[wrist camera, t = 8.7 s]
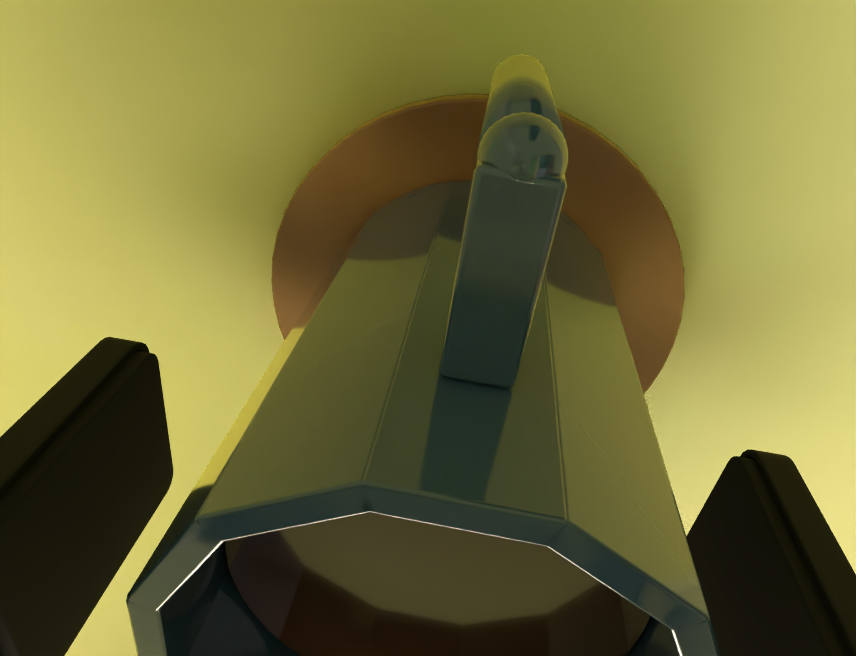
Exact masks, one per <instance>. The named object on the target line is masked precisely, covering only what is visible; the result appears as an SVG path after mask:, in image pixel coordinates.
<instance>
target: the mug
mask: <svg viewBox="0 0 856 656" xmlns="http://www.w3.org/2000/svg"><path fill="white" fill-rule="evenodd" d="M568 156H569V154H568V146H567V142H566V139H565V135H564V132H563V128H562V125H561V121H560V118H559V115H558V111H557V108H556V104H555V101H554V97H553V94H552V90H551V87H550V83H549V80H548V76H547V73H546V70H545V68H544V66H543V65H542V64H541V63H540V62H539V61H538V60H537V59H536V58H534V57H532V56H530V55H526V54H517V55H513V56H510V57H508V58H506V59H505V60H504V61H503V62H501V63H500V65H499V66H498V67H497V69H496V70H495V72H494V75H493V79H492V83H491V88H490V93H489V97H488V102H487V107H486V112H485V117H484V121H483V126H482V131H481V136H480V140H479V145H478V150H477V156H476V161H475V166H474V170H473V176H472V180H467V181H450V182H443V183H437V184H432V185H429V186H425V187H422V188H418V189H415V190H413V191H411V192H408V193H406V194H404V195H402V196H399V197H397V198H396V199H394V200H392V201H391V202H389V203H388V204H386V205H384V206H383V207H381V208H380V209H379V210H376V211H374V212H373V213H372V214H371V215H370V216H369V218H368V219H367V220H366V221H365V222H364V224H363V225H362V226H361V227H360V228H359V229H358V230H357V231H356V233H355V234H354V236H353V237H352V239H351V240H350V242H349V243H348V245H347V246H346V248H345V249H344V250H343V251H342V253H341V254H340V255H339V257H338V258H337V259H336V260H335V262H334V263H333V264H332V266H331V267H330V268H329V270H328V272H327V273H326V275H325V276H324V278H323V280H322V281H321V283H320V285H319V286H318V288H317V289H316V291H315V293H314V294H313V296H312V297H311V299H310V301H309V302H308V304H307V306H306V307H305V309H304V310H303V312H302V314H301V315H300V317H299V318H298V320H297V322H296V323H295V325H294V327H293V328H292V330H291V331H290V333H289V335H288V336H287V338H286V339H285V341H284V343H283V344H282V346H281V348H280V349H279V351H278V352H277V354H276V356H275V357H274V359H273V360H272V362H271V364H270V365H269V367H268V369H267V370H266V372H265V373H264V375H263V377H262V378H261V380H260V381H259V383H258V385H257V386H256V388H255V390H254V391H253V393H252V394H251V396H250V398H249V399H248V401H247V402H246V404H245V406H244V407H243V409H242V411H241V412H240V414H239V415H238V417H237V419H236V420H235V422H234V423H233V425H232V427H231V428H230V430H229V432H228V433H227V435H226V436H225V438H224V440H223V441H222V443H221V444H220V446H219V448H218V449H217V451H216V453H215V454H214V456H213V457H212V459H211V461H210V462H209V464H208V465H207V467H206V469H205V470H204V472H203V474H202V475H201V477H200V478H199V480H198V482H197V483H196V485H195V487H194V488H193V490H192V491H191V493H190V495H189V496H188V498H187V499H186V501H185V503H184V504H183V506H182V508H181V509H180V511H179V512H178V514H177V516H176V517H175V519H174V520H173V522H172V524H171V525H170V527H169V529H168V530H167V532H166V533H165V535H164V537H163V538H162V540H161V541H160V543H159V545H158V546H157V548H156V550H155V551H154V553H153V554H152V556H151V558H150V559H149V561H148V562H147V564H146V566H145V567H144V569H143V571H142V572H141V574H140V575H139V577H138V579H137V580H136V582H135V583H134V585H133V587H132V588H131V590H130V592H129V593H128V595H127V600H126V602H127V607H128V612H129V617H130V621H131V626H132V631H133V636H134V640H135V645H136V650H137V655H138V656H721V653H720V649H719V646H718V642H717V639H716V635H715V632H714V628H713V625H712V621H711V618H710V614H709V611H708V608H707V604H706V601H705V598H704V594H703V591H702V588H701V584H700V581H699V578H698V574H697V571H696V568H695V564H694V561H693V558H692V554H691V551H690V548H689V544H688V541H687V538H686V534H685V531H684V528H683V524H682V521H681V517H680V514H679V511H678V507H677V504H676V501H675V497H674V494H673V491H672V487H671V484H670V481H669V477H668V474H667V471H666V467H665V464H664V461H663V457H662V454H661V451H660V447H659V444H658V441H657V437H656V434H655V431H654V427H653V424H652V421H651V417H650V414H649V410H648V407H647V404H646V400H645V397H644V394H643V390H642V387H641V384H640V380H639V377H638V374H637V370H636V367H635V364H634V360H633V357H632V354H631V350H630V347H629V344H628V340H627V337H626V334H625V330H624V327H623V324H622V320H621V317H620V314H619V310H618V307H617V304H616V300H615V297H614V293H613V290H612V287H611V283H610V280H609V277H608V273H607V270H606V267H605V263H604V260H603V257H602V253H601V252H600V250H599V249H598V248H596V247H595V246H594V245H593V243H592V242H591V241H590V239H589V238H588V237H587V236H586V234H585V233H584V232H583V230H582V229H581V228H580V227H579V226H578V225H577V224H576V223H575V222H574V221H573V220H572V219H571V218H570V217H569V216H567V215H566V214H565V213H563V212H562V211H561V209H562V206H563V202H564V198H565V194H566V190H567V183H566V178H565V173H566V170H567V165H568Z"/></svg>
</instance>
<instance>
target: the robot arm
mask: <svg viewBox="0 0 856 656" xmlns="http://www.w3.org/2000/svg"><path fill="white" fill-rule="evenodd" d="M172 478H173V464H172V457H171V450H170V443H169V435H168V428H167V421H166V414H165V406H164V399H163V392H162V385H161V378H160V370H159V363H158V359H157V356H156V355H155V354H152V353H149V350H148V347H147V346H146V344H144V343H141V342H136V341H130V340H124V339H119V338H113V337H107V338H104V339H103V340H101V341H100V342H99V343H98V344H97V345H96V346H95V347H94V348H93V349H92V350H91V351H89V352H88V353H87V354H86V355H85V356H84V357H83V358H82V359H81V360H80V361H79V362H78V363H77V364H76V365H75V366H74V367H73V368H72V369H71V370H70V371H69V372H68V373H67V374H66V375H65V376H63V377H62V378H61V379H60V380H59V381H58V382H57V383H56V384H55V385H54V386H53V387H52V388H51V389H50V390H49V391H48V392H47V393H46V394H45V395H44V396H43V397H42V398H41V399H40V400H39V401H37V402H36V403H35V404H34V405H33V406H32V407H31V408H30V409H29V410H28V411H27V412H26V413H25V414H24V415H23V416H22V417H21V418H20V419H19V420H18V421H17V422H16V423H15V424H14V425H13V426H11V427H10V428H9V429H8V430H7V431H6V432H5V433H4V434H3V435H2V436H1V437H0V656H64V655H65V654H66V652H67V651H68V649H69V647H70V646H71V644H72V643H73V641H74V639H75V638H76V636H77V635H78V633H79V632H80V630H81V628H82V627H83V625H84V624H85V622H86V620H87V619H88V617H89V616H90V614H91V612H92V611H93V609H94V608H95V606H96V604H97V603H98V601H99V600H100V598H101V597H102V595H103V593H104V592H105V590H106V589H107V587H108V585H109V584H110V582H111V581H112V579H113V577H114V576H115V574H116V573H117V571H118V570H119V568H120V566H121V565H122V563H123V562H124V560H125V558H126V557H127V555H128V554H129V552H130V550H131V549H132V547H133V546H134V544H135V542H136V541H137V539H138V538H139V536H140V535H141V533H142V531H143V530H144V528H145V527H146V525H147V523H148V522H149V520H150V519H151V517H152V515H153V514H154V512H155V511H156V509H157V507H158V506H159V504H160V503H161V501H162V500H163V498H164V496H165V495H166V493H167V491H168V489H169V487H170V485H171V482H172ZM686 538H687V541H688V544H689V548H690V551H691V554H692V558H693V561H694V564H695V568H696V571H697V574H698V578H699V581H700V584H701V588H702V591H703V594H704V598H705V601H706V604H707V608H708V611H709V614H710V618H711V621H712V625H713V628H714V632H715V635H716V639H717V642H718V646H719V649H720V653H721V656H856V574H855V573H854V571H853V569H852V567H851V565H850V563H849V562H848V560H847V558H846V556H845V554H844V553H843V551H842V549H841V547H840V545H839V544H838V542H837V540H836V538H835V536H834V535H833V533H832V531H831V529H830V527H829V525H828V524H827V522H826V520H825V518H824V516H823V515H822V513H821V511H820V509H819V507H818V506H817V504H816V502H815V500H814V498H813V497H812V495H811V493H810V491H809V489H808V488H807V486H806V484H805V482H804V480H803V478H802V477H801V475H800V473H799V471H798V469H797V468H796V466H795V464H794V463H793V461H792V460H791V459H790V458H789V457H787V456H785V455H779V454H774V453H768V452H762V451H757V450H746V451H745V452H743V453H742V454H741V456H740V457H738V456H734V457H732V458H731V459H730V460H729V462H728V463H727V465H726V467H725V469H724V470H723V472H722V474H721V476H720V477H719V479H718V481H717V483H716V485H715V486H714V488H713V490H712V492H711V494H710V495H709V497H708V499H707V501H706V503H705V504H704V506H703V508H702V510H701V511H700V513H699V515H698V517H697V519H696V520H695V522H694V524H693V526H692V528H691V529H690V531H689V533H688V535H687V537H686Z"/></svg>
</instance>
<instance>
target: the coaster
mask: <svg viewBox="0 0 856 656" xmlns="http://www.w3.org/2000/svg"><path fill="white" fill-rule="evenodd" d="M488 97H489V95H481V94H466V95H452V96H441V97H436V98H432V99H427V100H422V101H418V102H413V103H410V104H407V105H405V106H402V107H399V108H397V109H394V110H391V111H388V112H386V113H384V114H382V115H380V116H378V117H376V118H374V119H372V120H370V121H369V122H367V123H365V124H363V125H361V126H359V127H358V128H357V129H355V130H354V131H353V132H351V133H350V134H349V135H347V136H346V137H345V138H343V139H342V140H340V141H339V142H338V143H337V144H336V145H335V146H334V147H333V148H332V149H331V150H330V151H329V152H328V153H326V154H325V155H324V156H323V157H322V158H321V159H320V160H319V161H318V162H317V163H316V164H315V165H314V166H313V168H312V169H311V170H310V172H309V173H308V174H307V176H306V177H305V178H304V180H303V181H302V182H301V184H300V185H299V186H298V188H297V189H296V191H295V193H294V195H293V197H292V199H291V201H290V203H289V205H288V206H287V208H286V210H285V213H284V216H283V218H282V221H281V224H280V227H279V230H278V233H277V237H276V242H275V247H274V253H273V258H272V290H273V300H274V307H275V311H276V315H277V319H278V323H279V327H280V330H281V332H282V335H283V337H284V340H285V339H286V338H287V336H288V335H289V333H290V331H291V330H292V328H293V327H294V325H295V323H296V322H297V320H298V318H299V317H300V315H301V314H302V312H303V310H304V309H305V307H306V306H307V304H308V302H309V301H310V299H311V297H312V296H313V294H314V293H315V291H316V289H317V288H318V286H319V285H320V283H321V281H322V280H323V278H324V276H325V275H326V273H327V272H328V270H329V268H330V267H331V266H332V264H333V263H334V262H335V260H336V259H337V258H338V257H339V255H340V254H341V253H342V251H343V250H344V249H345V248H346V246H347V245H348V243H349V242H350V240H351V239H352V237H353V236H354V234H355V233H356V231H357V230H358V229H359V228H360V227H361V226H362V225H363V224H364V222H365V221H366V220H367V219H368V218H369V216H370V215H371V214H372V213H373V212H374V211H376V210H379V209H380V208H381V207H383V206H384V205H386V204H388V203H389V202H391V201H392V200H394V199H396V198H397V197H399V196H402V195H404V194H406V193H408V192H411V191H413V190H415V189H418V188H422V187H425V186H429V185H432V184H437V183H443V182H450V181H467V180H472V176H473V170H474V166H475V161H476V156H477V150H478V145H479V140H480V136H481V131H482V126H483V121H484V117H485V112H486V107H487V102H488ZM557 111H558V110H557ZM558 115H559V118H560V121H561V125H562V128H563V132H564V135H565V139H566V142H567V146H568V154H569V156H568V165H567V170H566V173H565V178H566V183H567V190H566V194H565V198H564V202H563V206H562V209H561V211H562V212H563V213H565V214H566V215H567V216H569V217H570V218H571V219H572V220H573V221H574V222H575V223H576V224H577V225H578V226H579V227H580V228H581V229H582V230H583V232H584V233H585V234H586V236H587V237H588V238H589V239H590V241H591V242H592V243H593V245H594V246H595V247H596V248H598V249H599V250H600V252H601V253H602V257H603V260H604V263H605V267H606V270H607V273H608V277H609V280H610V283H611V287H612V290H613V293H614V297H615V300H616V304H617V307H618V310H619V314H620V317H621V320H622V324H623V327H624V330H625V334H626V337H627V340H628V344H629V347H630V350H631V354H632V357H633V360H634V364H635V367H636V370H637V374H638V377H639V380H640V384H641V387H642V390H643V394H644V393H645V392H646V391H647V390H648V388H649V387H650V386H651V385H652V383H653V381H654V380H655V378H656V377H657V375H658V374H659V372H660V371H661V369H662V368H663V366H664V364H665V362H666V360H667V357H668V355H669V353H670V351H671V349H672V347H673V345H674V342H675V338H676V335H677V332H678V328H679V325H680V322H681V316H682V308H683V301H684V268H683V263H682V257H681V251H680V246H679V242H678V239H677V236H676V233H675V231H674V228H673V225H672V222H671V219H670V217H669V215H668V213H667V211H666V210H665V208H664V206H663V204H662V202H661V200H660V198H659V196H658V195H657V193H656V191H655V190H654V188H653V187H652V185H651V184H650V183H649V181H648V180H647V179H646V177H645V176H644V175H643V173H642V172H641V171H640V169H639V168H638V167H637V165H636V164H635V163H634V162H633V161H632V160H631V159H630V158H629V157H627V156H626V155H625V154H624V153H623V152H622V151H621V150H620V149H619V148H618V147H617V146H616V145H615V144H614V143H612V142H611V141H610V140H608V139H607V138H606V137H604V136H603V135H601V134H600V133H599V132H597V131H596V130H595V129H593V128H592V127H590V126H588V125H586V124H584V123H583V122H581V121H579V120H577V119H575V118H573V117H571V116H569V115H567V114H566V113H563V112H560V111H558Z"/></svg>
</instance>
